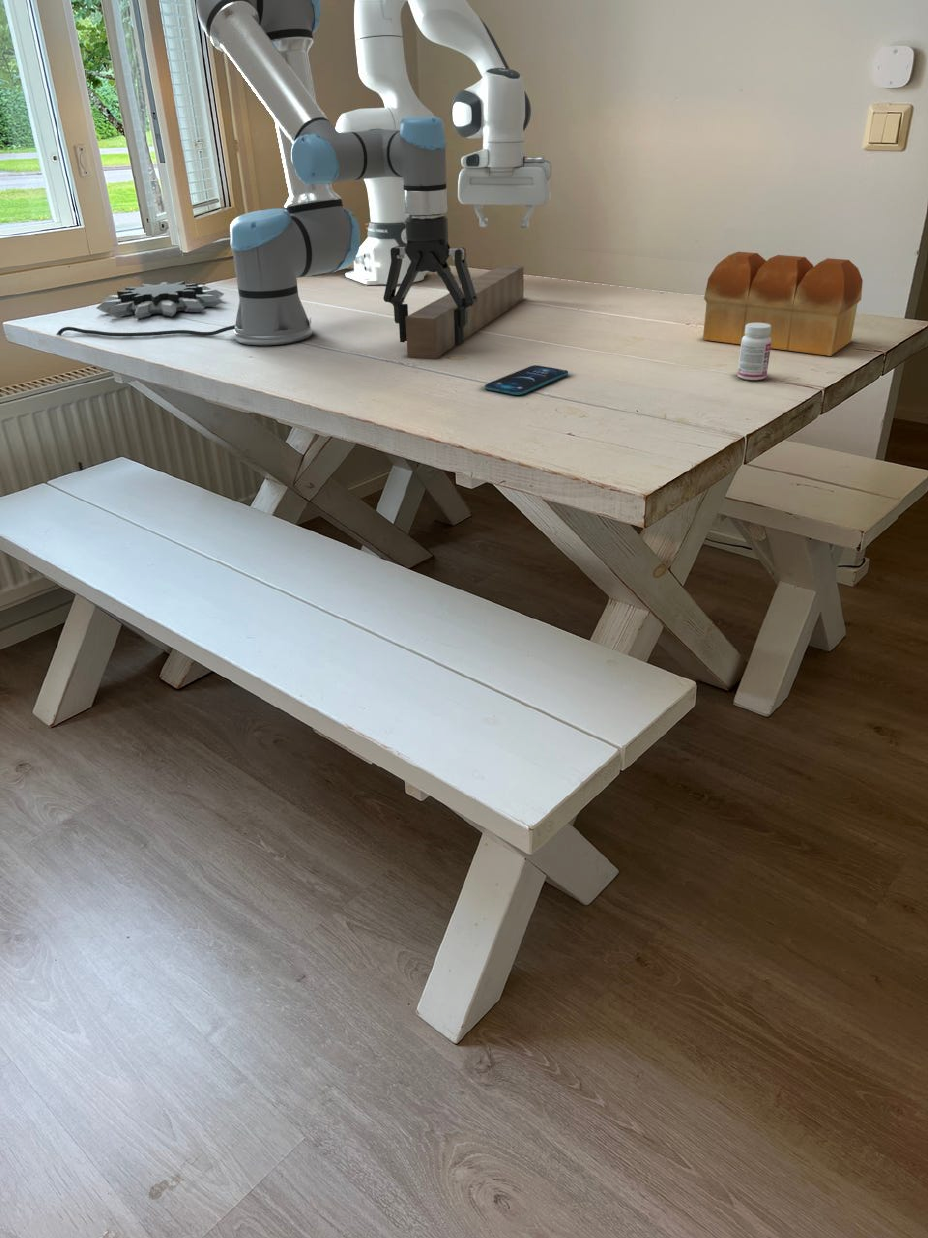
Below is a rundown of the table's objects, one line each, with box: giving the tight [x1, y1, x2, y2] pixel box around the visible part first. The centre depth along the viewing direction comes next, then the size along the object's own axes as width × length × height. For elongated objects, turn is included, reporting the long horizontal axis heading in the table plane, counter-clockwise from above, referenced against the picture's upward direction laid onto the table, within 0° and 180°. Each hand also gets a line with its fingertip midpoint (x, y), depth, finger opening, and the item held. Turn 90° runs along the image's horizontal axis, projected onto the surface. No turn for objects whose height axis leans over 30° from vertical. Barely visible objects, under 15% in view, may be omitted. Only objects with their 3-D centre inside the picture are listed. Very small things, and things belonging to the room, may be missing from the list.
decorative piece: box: [95, 280, 225, 319], centre depth 219 cm, size 30×4×30 cm
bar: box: [405, 265, 524, 360], centre depth 194 cm, size 55×6×7 cm, turn 160°
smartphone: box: [484, 364, 569, 396], centre depth 158 cm, size 8×1×15 cm
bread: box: [702, 251, 864, 357], centre depth 174 cm, size 25×12×15 cm, turn 54°
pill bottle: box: [737, 323, 772, 381], centre depth 155 cm, size 5×5×8 cm
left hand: (431, 342), depth 178 cm, fingers open, 10 cm apart
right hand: (504, 227), depth 206 cm, fingers open, 8 cm apart
